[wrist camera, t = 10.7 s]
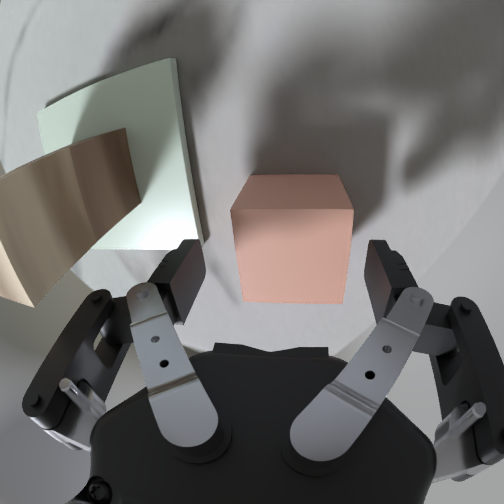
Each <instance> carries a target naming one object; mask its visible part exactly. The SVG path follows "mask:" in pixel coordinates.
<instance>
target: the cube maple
mask: <svg viewBox="0 0 504 504" xmlns="http://www.w3.org/2000/svg"><path fill="white" fill-rule="evenodd" d="M96 243H97V242H96V239H95V236H94V233H93V230H92V227H91V225H90V222H89V218H88V215H87V212H86V209H85V206H84V203H83V199H82V196H81V192H80V189H79V185H78V181H77V178H76V174H75V170H74V166H73V161H72V157H71V153H70V148H69V147H68V148H65V149H62V150H59V151H57V152H54V153H51V154H49V155H46V156H44V157H41V158H39V159H36V160H34V161H32V162H29V163H27V164H25V165H22V166H20V167H18V168H16V169H14V170H12V171H10V172H9V173H7V174H5V175H3V176H1V177H0V296H1V297H4V298H7V299H10V300H13V301H16V302H19V303H22V304H25V305H28V306H32V307H35V306H36V305H37V304H38V303H39V302H40V300H42V298H43V297H44V296H45V295H46V294H47V293H48V292H49V291H50V289H51V288H52V287H53V286H54V285H55V284H56V283H57V282H58V281H59V280H60V279H61V277H63V275H64V274H65V273H66V272H67V271H68V270H69V269H70V268H71V267H72V266H73V265H74V264H75V263H76V262H77V261H78V260H79V259H80V258H81V257H82V256H83V255H84V254H85V253H86V252H87V251H88V250H89V249H90V248H91V247H92V246H94V245H95V244H96Z"/></svg>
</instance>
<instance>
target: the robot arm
mask: <svg viewBox="0 0 504 504" xmlns="http://www.w3.org/2000/svg"><path fill="white" fill-rule="evenodd" d="M205 274H206V267H205V262H204V257H203V252H202V247H201V242H200V240H199V239H183V240H182V242H181V243H180V245H179V246H178V248H177V249H173V250H172V251H170V252H169V253H168V254H166V256H165V257H164V258H163V260H162V262H161V263H160V264H159V265H158V267H157V268H156V270H155V271H154V272H153V274H152V275H151V277H150V278H149V280H148V281H147V282H145V283H140V284H137V285H135V286H134V287H132V288H131V289H130V290H129V291H128V293H127V295H126V296H124V297H118V298H112V296H111V294H110V292H109V291H108V290H106V289H100V290H96V291H94V292H92V293H91V294H89V295H88V296H87V297H86V299H85V300H84V301H83V303H82V304H81V305H80V307H79V308H78V310H77V311H76V312H75V314H74V315H73V317H72V318H71V320H70V321H69V323H68V324H67V325H66V327H65V328H64V330H63V331H62V333H61V334H60V336H59V337H58V339H57V341H56V342H55V344H54V345H53V347H52V349H51V350H50V352H49V353H48V355H47V356H46V358H45V360H44V361H43V363H42V365H41V366H40V368H39V370H38V372H37V373H36V375H35V377H34V379H33V380H32V382H31V384H30V386H29V388H28V389H27V391H26V393H25V395H24V397H23V402H22V408H23V411H24V413H25V414H26V415H27V416H28V417H29V418H31V419H32V420H33V421H34V422H35V423H37V424H38V425H39V426H40V427H41V428H42V429H43V430H44V431H45V432H47V433H48V434H49V435H51V436H52V437H53V438H55V439H56V440H58V441H59V442H62V443H63V444H65V445H66V446H68V447H69V448H71V449H73V450H81V449H85V450H87V451H90V454H91V470H90V477H89V480H88V482H87V484H86V486H85V487H84V488H83V490H82V491H81V492H80V493H79V494H78V495H76V496H75V497H74V498H73V499H71V500H70V501H68V502H67V503H66V504H423V503H424V500H425V497H426V495H427V492H428V489H429V487H430V485H431V483H434V482H438V481H442V480H446V479H449V478H451V479H452V480H454V481H464V480H466V479H468V478H470V477H472V476H474V475H476V474H478V473H479V472H481V471H483V470H485V469H487V468H489V467H490V466H492V465H494V464H495V463H497V462H499V461H500V460H502V459H503V458H504V365H503V362H502V359H501V357H500V355H499V352H498V349H497V347H496V345H495V342H494V340H493V337H492V336H491V334H490V331H489V329H488V326H487V324H486V322H485V320H484V318H483V316H482V314H481V312H480V310H479V308H478V306H477V305H476V304H475V303H474V302H473V301H472V300H470V299H468V298H466V297H456V298H454V299H453V301H452V302H451V305H450V306H448V305H444V304H439V303H435V302H434V300H433V297H432V296H431V294H429V292H427V291H426V290H424V289H422V288H419V287H418V285H417V283H416V281H415V279H414V277H413V275H412V273H411V272H410V271H409V268H408V266H407V265H406V262H405V260H404V258H403V257H402V256H401V255H400V254H399V253H398V252H397V251H391V250H390V248H389V246H388V244H387V242H386V240H370V241H369V244H368V250H367V257H366V263H365V269H364V278H365V283H366V286H367V290H368V293H369V297H370V301H371V304H372V308H373V312H374V316H375V320H376V323H377V325H376V327H375V328H374V330H373V331H372V333H371V334H370V335H369V337H368V338H367V339H366V341H365V342H364V343H363V345H362V346H361V347H360V349H359V350H358V352H357V353H356V354H355V355H354V357H353V358H352V359H351V360H350V362H349V363H348V362H346V361H344V360H342V359H339V358H336V357H333V356H329V354H328V347H298V348H292V349H287V350H281V351H275V352H267V351H263V350H259V349H256V348H252V347H248V346H245V345H240V344H226V343H215V345H214V348H213V351H207V352H203V353H199V354H197V355H194V356H192V357H190V358H188V357H187V355H186V353H185V350H184V348H183V346H182V344H181V342H180V340H179V337H178V335H177V333H176V331H175V329H174V324H177V325H184V323H185V321H186V318H187V316H188V314H189V312H190V309H191V307H192V305H193V303H194V300H195V298H196V296H197V294H198V292H199V289H200V287H201V285H202V283H203V281H204V278H205ZM99 332H100V334H101V336H102V339H101V341H100V343H99V344H98V346H97V348H96V350H95V351H94V347H93V344H94V341H95V339H96V337H97V335H98V334H99ZM131 343H134V345H135V348H136V352H137V356H138V359H139V363H140V366H141V370H142V373H143V376H144V379H145V383H146V387H145V388H143V389H142V390H140V391H139V392H137V393H136V394H134V395H133V396H131V397H130V398H128V399H127V400H125V401H124V402H122V403H120V404H119V405H117V406H116V407H114V408H112V409H111V410H109V411H108V412H106V405H105V400H106V398H107V396H108V393H109V391H110V389H111V386H112V384H113V382H114V379H115V377H116V375H117V372H118V370H119V368H120V366H121V364H122V362H123V360H124V357H125V355H126V353H127V351H128V349H129V347H130V345H131ZM412 351H414V352H419V353H425V354H429V357H430V361H431V365H432V369H433V373H434V378H435V382H436V387H437V392H438V397H439V403H440V409H441V415H442V422H441V423H440V424H439V425H438V426H437V428H436V431H435V440H434V444H432V442H431V441H430V439H429V438H428V437H427V436H426V435H425V434H424V433H423V432H422V431H421V430H420V429H419V428H418V427H417V426H416V425H415V424H414V423H412V422H411V421H410V420H409V419H408V418H407V417H406V416H405V415H404V414H403V413H402V412H401V411H400V410H399V409H398V408H397V407H396V406H395V405H394V404H393V403H392V402H391V401H389V400H388V399H387V398H386V396H387V395H388V393H389V392H390V390H391V388H392V386H393V385H394V383H395V381H396V380H397V378H398V376H399V375H400V373H401V371H402V369H403V367H404V366H405V364H406V362H407V360H408V358H409V356H410V354H411V352H412Z"/></svg>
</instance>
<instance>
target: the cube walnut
mask: <svg viewBox="0 0 504 504" xmlns="http://www.w3.org/2000/svg"><path fill="white" fill-rule="evenodd" d="M68 147H69V148H70V153H71V157H72V161H73V166H74V170H75V174H76V178H77V181H78V185H79V189H80V192H81V196H82V199H83V203H84V206H85V209H86V212H87V215H88V218H89V222H90V225H91V227H92V230H93V233H94V236H95V239H96V242H97V241H98V240H100V239H101V238H102V237H103V236H104V235H105V234H106V233H107V232H108V231H109V230H110V229H112V228H113V227H114V226H115V225H116V224H117V223H118V222H119V221H121V220H122V219H123V218H124V217H125V216H126V215H128V214H129V213H130V212H131V211H132V210H133V209H135V208H136V207H137V206H138V205H139V204H141V199H140V195H139V191H138V187H137V182H136V178H135V174H134V169H133V164H132V160H131V155H130V150H129V144H128V139H127V134H126V128H121V129H118V130H114V131H110V132H107V133H104V134H100V135H97V136H94V137H91V138H88V139H84V140H81V141H79V142H76V143H73V144H70V145H68V146H65V147H63V148H60V149H58V150H55V151H53V152H51V153H54V152H57V151H59V150H62V149H65V148H68ZM51 153H49V154H51ZM49 154H46V155H49ZM46 155H44V156H46ZM44 156H42V157H44ZM40 158H41V157H40ZM38 159H39V158H38ZM35 160H36V159H35ZM33 161H34V160H33ZM31 162H32V161H31Z"/></svg>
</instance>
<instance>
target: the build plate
mask: <svg viewBox="0 0 504 504" xmlns="http://www.w3.org/2000/svg"><path fill="white" fill-rule="evenodd" d="M37 118H38V124H39V130H40V136H41V141H42V146H43V150H44V155H46V154H49V153H51V152H53V151H55V150H58V149H60V148H63V147H65V146H68V145H70V144H73V143H76V142H79V141H81V140H84V139H88V138H91V137H94V136H97V135H100V134H104V133H107V132H110V131H114V130H118V129H121V128H126V134H127V139H128V144H129V150H130V155H131V160H132V164H133V169H134V174H135V178H136V182H137V187H138V191H139V195H140V199H141V204H139V205H138V206H137V207H136V208H135V209H133V210H132V211H131V212H130V213H129V214H128V215H126V216H125V217H124V218H123V219H122V220H121V221H119V222H118V223H117V224H116V225H115V226H114V227H113V228H112V229H110V230H109V231H108V232H107V233H106V234H105V235H104V236H103V237H102V238H101V239H100V240H98V241H97V243H96V244H95V245H94V246H92V247H91V248H90V249H147V250H173V249H177V248H178V246H179V245H180V243H181V242H182V240H183V239H199V240H200V242H201V247H203V245H204V239H203V234H202V229H201V223H200V218H199V213H198V207H197V202H196V196H195V190H194V185H193V179H192V173H191V167H190V160H189V154H188V148H187V141H186V134H185V127H184V120H183V113H182V105H181V98H180V90H179V81H178V72H177V63H176V59H174V58H167V59H163V60H159V61H156V62H152V63H149V64H146V65H143V66H140V67H137V68H134V69H131V70H128V71H125V72H122V73H120V74H117V75H114V76H112V77H109V78H107V79H104V80H102V81H99V82H97V83H95V84H92V85H90V86H88V87H86V88H84V89H81V90H79V91H77V92H75V93H73V94H71V95H69V96H67V97H65V98H63V99H61V100H59V101H57V102H56V103H54V104H52V105H50V106H48V107H46V108H45V109H43V110H41V111H40V112H38V113H37Z"/></svg>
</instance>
